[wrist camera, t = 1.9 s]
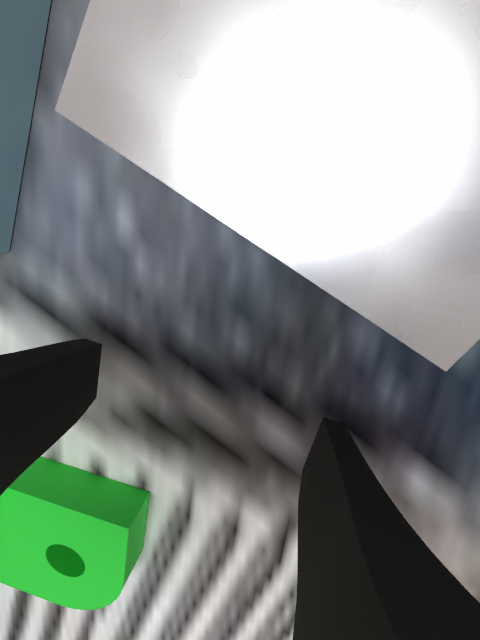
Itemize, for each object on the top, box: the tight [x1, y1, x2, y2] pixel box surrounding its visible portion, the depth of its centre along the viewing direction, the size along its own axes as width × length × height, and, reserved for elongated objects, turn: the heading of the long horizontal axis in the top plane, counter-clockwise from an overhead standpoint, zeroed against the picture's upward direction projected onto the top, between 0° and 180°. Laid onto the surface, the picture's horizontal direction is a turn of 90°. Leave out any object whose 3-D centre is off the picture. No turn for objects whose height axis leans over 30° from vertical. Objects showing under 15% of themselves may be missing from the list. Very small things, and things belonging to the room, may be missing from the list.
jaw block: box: [55, 0, 480, 371], centre depth 8 cm, size 10×7×4 cm
